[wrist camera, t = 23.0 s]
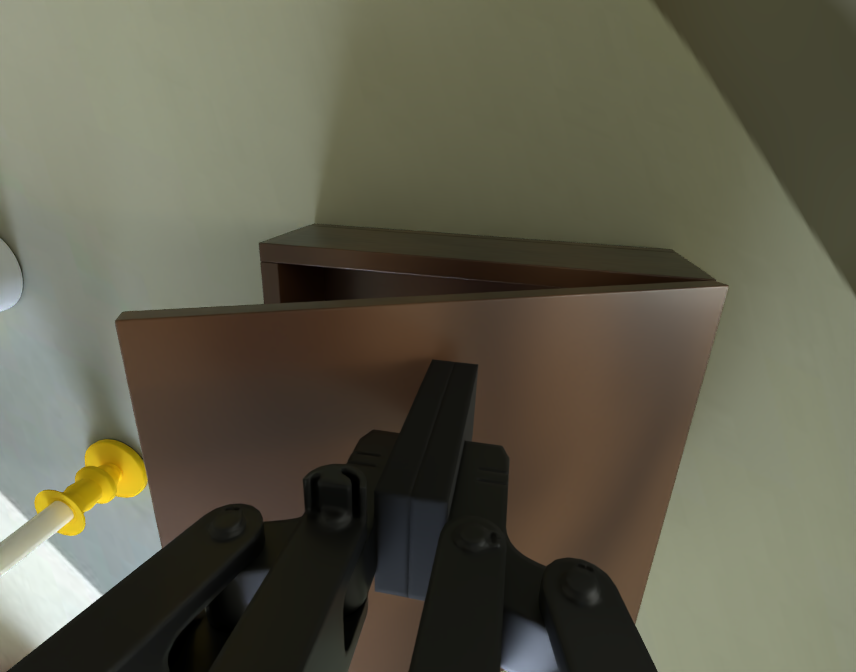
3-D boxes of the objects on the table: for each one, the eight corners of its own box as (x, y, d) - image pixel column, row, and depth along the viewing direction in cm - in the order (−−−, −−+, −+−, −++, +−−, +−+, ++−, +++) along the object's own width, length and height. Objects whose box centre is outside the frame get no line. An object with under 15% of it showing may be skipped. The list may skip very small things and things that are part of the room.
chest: (325, 485, 35) (285, 552, 29) (313, 223, 28) (258, 242, 22) (608, 531, 32) (627, 616, 26) (672, 249, 25) (717, 279, 19)
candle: (125, 503, 40) (-99, 701, 26) (78, 457, 39) (-181, 636, 25) (160, 476, 38) (-59, 673, 24) (112, 427, 37) (-146, 601, 23)
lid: (207, 741, 20) (206, 763, 19) (121, 311, 13) (113, 320, 12) (624, 617, 26) (633, 630, 26) (713, 279, 19) (730, 285, 19)
